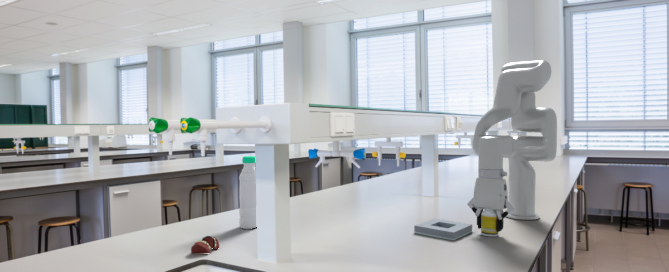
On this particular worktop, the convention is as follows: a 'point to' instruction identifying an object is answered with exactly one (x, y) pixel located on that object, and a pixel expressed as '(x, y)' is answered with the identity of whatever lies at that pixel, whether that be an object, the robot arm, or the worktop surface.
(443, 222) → the holder block
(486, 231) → the supplement bottle
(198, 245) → the dental model
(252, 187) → the water bottle
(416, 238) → the worktop surface
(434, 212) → the worktop surface
